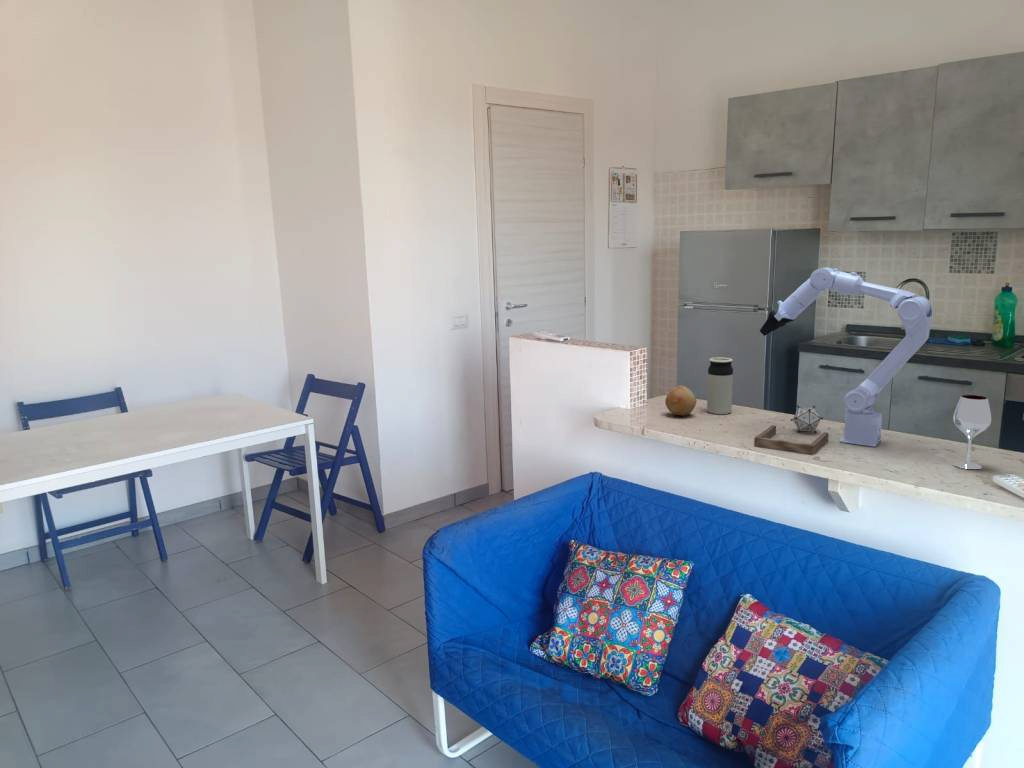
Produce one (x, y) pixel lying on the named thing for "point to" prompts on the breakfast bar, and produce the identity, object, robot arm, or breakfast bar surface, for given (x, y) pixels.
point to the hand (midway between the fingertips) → (766, 330)
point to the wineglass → (971, 422)
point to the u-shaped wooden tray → (788, 442)
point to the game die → (806, 419)
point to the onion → (680, 401)
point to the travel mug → (720, 386)
